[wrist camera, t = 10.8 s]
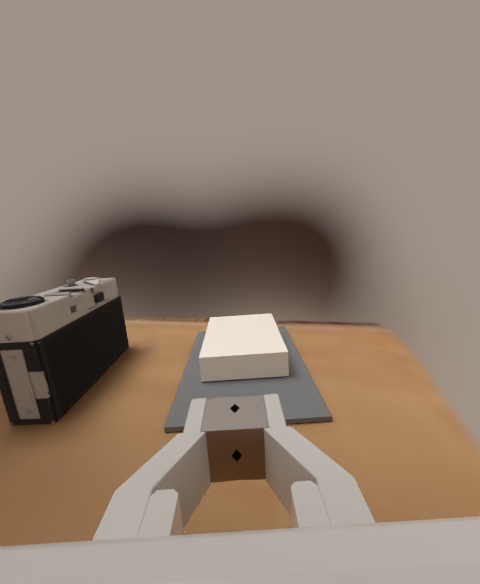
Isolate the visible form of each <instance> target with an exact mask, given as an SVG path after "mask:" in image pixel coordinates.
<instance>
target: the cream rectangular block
mask: <svg viewBox="0 0 480 584" xmlns="http://www.w3.org/2000/svg"><path fill="white" fill-rule="evenodd" d="M199 365H200V374H201V382H206V381H221V380H236V379H251V378H266V377H281V376H289V363H288V350H287V348H286V346H285V343H284V341H283V339H282V337H281V334H280V332H279V330H278V327H277V325H276V323H275V321H274V318H273V316H272V314H257V315H241V316H227V317H211V318H210V320H209V323H208V327H207V330H206V334H205V337H204V341H203V344H202V348H201V351H200V355H199Z"/></svg>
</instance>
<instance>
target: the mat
mask: <svg viewBox="0 0 480 584" xmlns="http://www.w3.org/2000/svg"><path fill="white" fill-rule="evenodd" d="M278 330H279V332H280V334H281V337H282V339H283V341H284V343H285V346H286V348H287V350H288V363H289V376H281V377H266V378H251V379H236V380H221V381H206V382H201V374H200V365H199V355H200V351H201V348H202V344H203V341H204V337H205V334H206V331H205V332H198V335H197V338H196V340H195V343H194V346H193V349H192V352H191V354H190V357H189V360H188V363H187V366H186V368H185V371H184V374H183V377H182V379H181V382H180V385H179V388H178V391H177V393H176V396H175V399H174V402H173V405H172V407H171V410H170V413H169V416H168V419H167V421H166V424H165V427H164V429H165V432H178V431H183V430H184V426H185V422H186V418H187V415H188V411H189V407H190V403H191V401H192V399H198V398H220V397H246V396H260V395H267V394H278V395H279V399H280V403H281V407H282V410H283V414H284V418H285V422H286V424H296V423H310V422H325V421H332V416H331V414H330V412H329V410H328V408H327V406H326V405H325V403H324V401H323V399H322V397H321V395H320V393H319V391H318V389H317V387H316V385H315V383H314V382H313V380H312V378H311V376H310V374H309V372H308V370H307V368H306V366H305V364H304V362H303V360H302V359H301V357H300V355H299V353H298V351H297V349H296V347H295V345H294V343H293V341H292V339H291V337H290V336H289V334H288V332H287V330H286V328H285V326H280V327H278Z"/></svg>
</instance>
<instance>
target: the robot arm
mask: <svg viewBox="0 0 480 584" xmlns="http://www.w3.org/2000/svg"><path fill="white" fill-rule="evenodd" d="M259 479H266V482H267V483H268V484H269V486H270V487H271V489H272V490H273V491H274V493H275V494H276V496H277V497H278V498H279V500H280V501H281V503H282V504H283V505H284V507H285V508H286V510H287V511H288V513H289V514H290V515H291V528H283V529H267V530H251V531H235V532H219V533H203V534H187V535H184V532H183V528H184V527H185V525H186V523H187V522H188V520H189V519H190V517H191V515H192V514H193V512H194V511H195V509H196V507H197V506H198V504H199V503H200V501H201V499H202V498H203V496H204V495H205V493H206V491H207V490H208V488H209V487H210V485H211V483H212V482H223V481H234V480H259ZM0 584H480V516H476V517H460V518H444V519H429V520H413V521H397V522H381V523H376V522H375V520H374V518H373V516H372V514H371V512H370V510H369V508H368V506H367V504H366V502H365V500H364V497H363V495H362V493H361V491H360V489H359V487H358V485H357V483H356V481H355V479H354V477H353V476H352V475H351V474H349V473H348V472H347V471H346V470H344V469H343V468H342V467H341V466H339V465H338V464H337V463H336V462H334V461H333V460H332V459H331V458H330V457H328V456H327V455H326V454H325V453H323V452H322V451H321V450H320V449H318V448H317V447H316V446H315V445H313V444H312V443H311V442H310V441H308V440H307V439H306V438H305V437H303V436H302V435H301V434H300V433H298V432H297V431H296V430H295V429H293V428H292V427H287V425H286V422H285V418H284V414H283V410H282V407H281V403H280V399H279V395H278V394H267V395H260V396H246V397H220V398H198V399H192V401H191V403H190V407H189V411H188V415H187V418H186V422H185V426H184V430H183V433H178V434H177V435H176V436H175V437H174V438H173V439H172V440H171V441H169V442H168V443H167V444H166V445H165V446H164V447H163V448H162V449H161V450H160V451H158V452H157V453H156V454H155V455H154V456H153V457H152V458H151V459H150V460H149V461H147V462H146V463H145V464H144V465H143V466H142V467H141V468H140V469H139V470H138V471H136V472H135V473H134V474H133V475H132V476H131V477H130V478H129V479H128V480H126V481H125V482H124V483H123V484H122V485H121V486H120V487H119V488H118V489H117V490H115V492H114V494H113V496H112V498H111V501H110V503H109V505H108V507H107V509H106V511H105V514H104V516H103V518H102V520H101V522H100V524H99V527H98V529H97V531H96V533H95V535H94V537H93V540H92V541H76V542H60V543H44V544H28V545H12V546H0Z"/></svg>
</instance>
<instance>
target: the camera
mask: <svg viewBox="0 0 480 584" xmlns="http://www.w3.org/2000/svg"><path fill="white" fill-rule="evenodd" d="M128 347H129V344H128V338H127V332H126V326H125V320H124V314H123V309H122V303H121V296H118V292H117V286H116V280H115V279H114V278H100V279H99V278H97V277H93V278H85V279H84V280H81V281H77V282H75V280H73V279H72V280H67V285H65V286H61V287H58V288H55V289H52V290H48V291H45V292H42V293H39V294H36V295H32V296H26V297H19V298H14V299H10V300H6V301H4V302H2V303H0V391H1V395H2V398H3V401H4V404H5V407H6V411H7V414H8V417H9V420H10V423H11V425H32V424H54V423H56V422H57V421H58V420H59V419H60V418H61V417H62V416H63V415H64V414H65V413H66V412H67V411H68V409H69V408H70V407H71V406H72V405H73V404H74V403H75V402H76V401H77V400H78V399H79V398H80V397H81V396H82V395H83V394H84V393H85V392H86V391H87V390H88V389H89V388H90V387H91V386H92V384H93V383H94V382H95V381H96V380H97V379H98V378H99V377H100V376H101V375H102V374H103V373H104V372H105V371H106V370H107V369H108V368H109V367H110V366H111V365H112V364H113V363H114V362H115V360H116V359H117V358H118V357H119V356H120V355H121V354H122V353H123V352H124V351H125V350H126V349H127V348H128Z"/></svg>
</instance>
